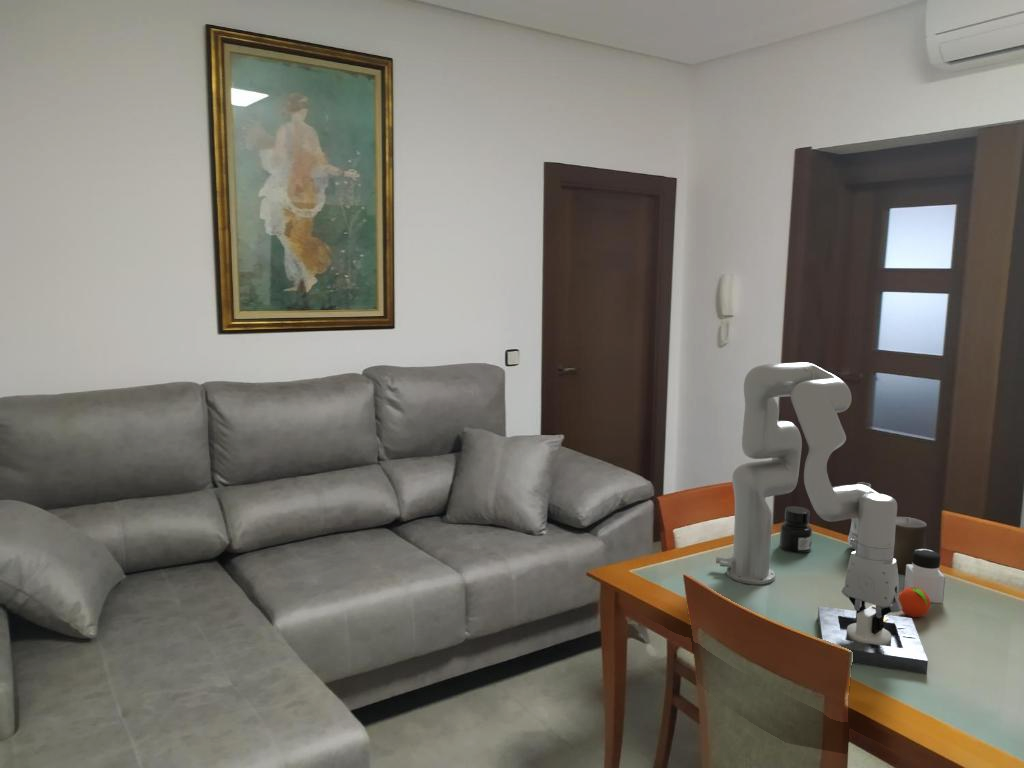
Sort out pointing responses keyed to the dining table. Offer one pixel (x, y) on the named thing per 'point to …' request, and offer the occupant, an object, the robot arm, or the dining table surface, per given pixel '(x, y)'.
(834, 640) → the dial plate
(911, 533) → the pillar candle
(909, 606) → the clementine
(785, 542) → the ink bottle
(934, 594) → the medicine bottle
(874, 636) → the dial knob
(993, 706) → the dining table surface
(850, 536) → the plastic bottle
